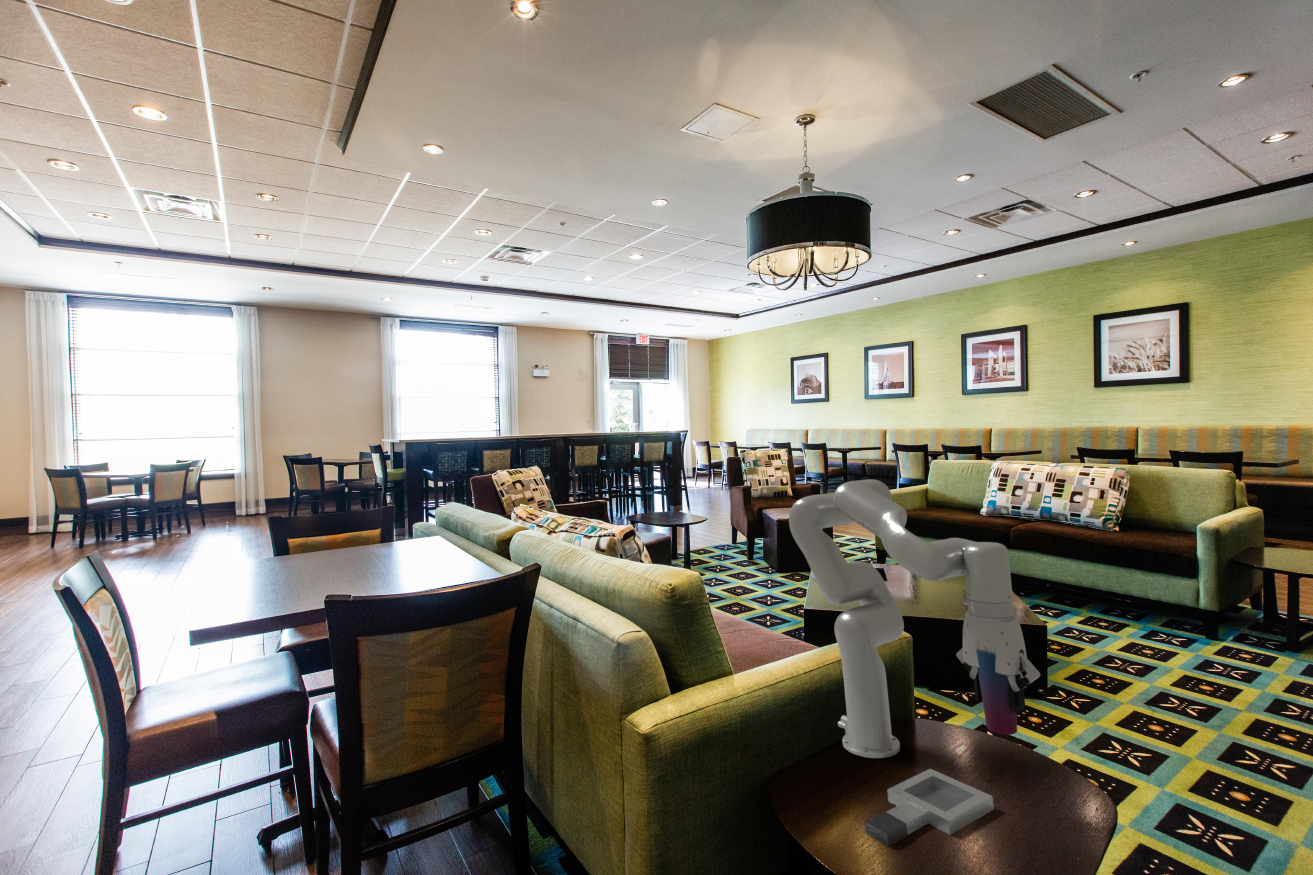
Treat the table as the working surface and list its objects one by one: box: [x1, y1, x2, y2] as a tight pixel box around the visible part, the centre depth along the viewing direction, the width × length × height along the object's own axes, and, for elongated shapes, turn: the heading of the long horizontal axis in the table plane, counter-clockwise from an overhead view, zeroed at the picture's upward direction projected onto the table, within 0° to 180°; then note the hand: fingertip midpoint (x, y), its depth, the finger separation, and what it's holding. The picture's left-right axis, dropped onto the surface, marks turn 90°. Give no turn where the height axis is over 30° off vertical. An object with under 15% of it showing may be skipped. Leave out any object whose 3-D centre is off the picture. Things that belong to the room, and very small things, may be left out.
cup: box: [976, 649, 1018, 736], centre depth 112 cm, size 7×7×15 cm
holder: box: [864, 768, 995, 847], centre depth 110 cm, size 24×13×2 cm, turn 120°
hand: (999, 703), depth 112 cm, fingers closed on cup, 6 cm apart
